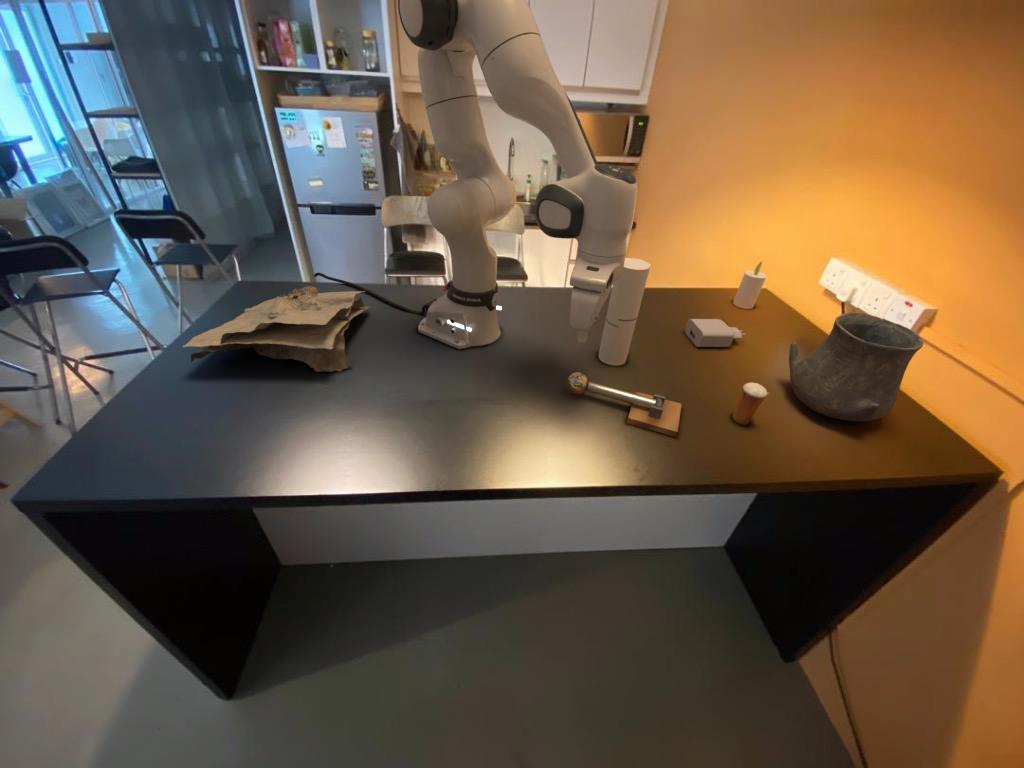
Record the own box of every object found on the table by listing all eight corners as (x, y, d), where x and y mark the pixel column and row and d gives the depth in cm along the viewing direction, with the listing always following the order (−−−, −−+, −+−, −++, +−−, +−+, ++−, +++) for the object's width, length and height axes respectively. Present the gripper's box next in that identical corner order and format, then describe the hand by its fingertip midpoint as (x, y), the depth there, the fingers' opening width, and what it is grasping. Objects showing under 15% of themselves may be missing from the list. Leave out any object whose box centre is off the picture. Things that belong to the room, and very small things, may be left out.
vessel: (915, 433, 91) (981, 355, 80) (825, 440, 88) (880, 360, 76) (838, 374, 109) (883, 303, 97) (761, 378, 105) (798, 305, 93)
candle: (750, 301, 142) (769, 258, 133) (755, 310, 137) (774, 265, 128) (731, 298, 143) (748, 255, 134) (734, 307, 138) (752, 262, 129)
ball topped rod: (562, 395, 95) (564, 377, 92) (568, 383, 99) (571, 365, 96) (657, 422, 89) (664, 404, 86) (660, 408, 93) (666, 390, 90)
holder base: (626, 423, 89) (630, 408, 87) (634, 396, 97) (638, 382, 94) (675, 437, 86) (681, 423, 84) (679, 408, 94) (684, 395, 92)
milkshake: (754, 431, 89) (774, 393, 83) (727, 421, 91) (745, 384, 85) (757, 419, 92) (776, 382, 86) (731, 410, 94) (748, 373, 88)
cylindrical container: (626, 367, 106) (651, 271, 91) (597, 362, 107) (617, 267, 92) (625, 352, 112) (649, 260, 97) (598, 348, 113) (617, 256, 98)
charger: (749, 348, 117) (697, 348, 115) (732, 332, 124) (683, 331, 123) (756, 333, 114) (703, 333, 113) (738, 317, 121) (688, 317, 120)
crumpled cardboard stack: (252, 282, 117) (366, 274, 117) (270, 337, 124) (378, 329, 124) (165, 322, 85) (323, 310, 86) (197, 393, 92) (342, 381, 93)
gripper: (595, 245, 87) (585, 306, 95) (567, 280, 72) (558, 349, 80) (626, 250, 85) (613, 312, 93) (604, 287, 70) (591, 358, 78)
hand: (587, 330), depth 86 cm, fingers open, 8 cm apart
